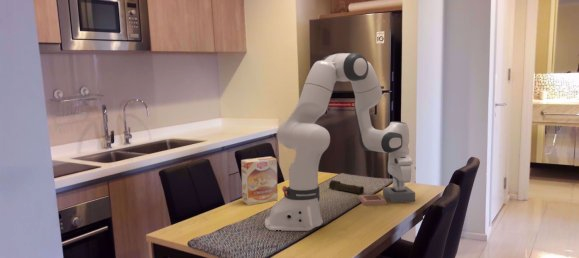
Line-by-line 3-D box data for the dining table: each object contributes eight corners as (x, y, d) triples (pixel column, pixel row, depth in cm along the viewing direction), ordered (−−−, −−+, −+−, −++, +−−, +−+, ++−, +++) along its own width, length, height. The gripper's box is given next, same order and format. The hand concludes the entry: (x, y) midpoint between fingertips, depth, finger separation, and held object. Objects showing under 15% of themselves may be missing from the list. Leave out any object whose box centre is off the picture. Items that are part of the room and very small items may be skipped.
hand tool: (364, 193, 207) (364, 184, 207) (359, 195, 204) (359, 186, 204) (332, 187, 220) (332, 178, 220) (327, 189, 217) (327, 180, 217)
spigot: (395, 196, 195) (395, 179, 194) (392, 194, 199) (392, 177, 198) (404, 196, 196) (404, 178, 194) (401, 194, 199) (401, 176, 198)
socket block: (390, 202, 192) (390, 193, 191) (382, 195, 202) (382, 187, 202) (415, 201, 193) (415, 192, 192) (406, 194, 203) (406, 186, 203)
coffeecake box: (248, 205, 193) (246, 162, 191) (242, 201, 199) (240, 159, 197) (278, 200, 200) (277, 158, 198) (271, 196, 206) (270, 155, 204)
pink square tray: (364, 205, 188) (364, 201, 188) (359, 199, 198) (359, 195, 197) (386, 204, 189) (386, 200, 189) (379, 198, 198) (379, 194, 198)
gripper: (384, 153, 205) (384, 182, 207) (399, 162, 185) (399, 194, 187) (397, 152, 206) (397, 181, 207) (414, 161, 185) (413, 193, 187)
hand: (398, 187), depth 197 cm, fingers closed on spigot, 4 cm apart
